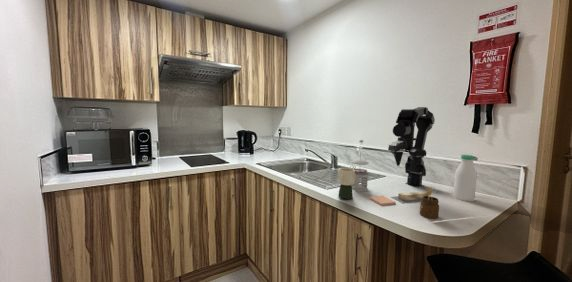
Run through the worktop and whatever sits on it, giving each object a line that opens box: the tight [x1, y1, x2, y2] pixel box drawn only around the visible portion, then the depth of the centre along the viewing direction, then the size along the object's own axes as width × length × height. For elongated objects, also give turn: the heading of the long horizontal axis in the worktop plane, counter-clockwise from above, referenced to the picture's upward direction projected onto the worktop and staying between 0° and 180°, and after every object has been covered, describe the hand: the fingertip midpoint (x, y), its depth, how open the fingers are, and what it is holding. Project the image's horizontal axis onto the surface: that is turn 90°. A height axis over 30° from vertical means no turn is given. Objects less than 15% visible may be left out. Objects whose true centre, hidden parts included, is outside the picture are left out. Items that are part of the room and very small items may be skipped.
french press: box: [349, 139, 369, 192], centre depth 114 cm, size 10×12×25 cm
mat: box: [390, 196, 422, 204], centre depth 102 cm, size 18×8×1 cm, turn 103°
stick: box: [398, 191, 428, 201], centre depth 102 cm, size 14×2×2 cm, turn 103°
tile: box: [368, 195, 396, 207], centre depth 99 cm, size 2×8×7 cm
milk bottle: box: [452, 154, 478, 203], centre depth 103 cm, size 8×8×20 cm
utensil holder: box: [419, 186, 440, 220], centre depth 84 cm, size 6×6×12 cm
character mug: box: [337, 167, 355, 200], centre depth 103 cm, size 11×7×13 cm, turn 141°
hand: (404, 167), depth 111 cm, fingers open, 9 cm apart
